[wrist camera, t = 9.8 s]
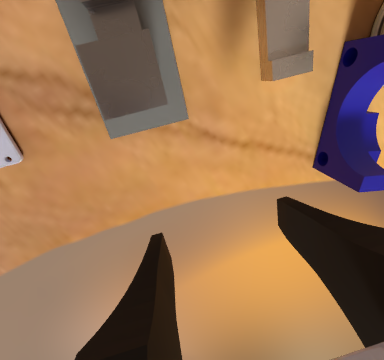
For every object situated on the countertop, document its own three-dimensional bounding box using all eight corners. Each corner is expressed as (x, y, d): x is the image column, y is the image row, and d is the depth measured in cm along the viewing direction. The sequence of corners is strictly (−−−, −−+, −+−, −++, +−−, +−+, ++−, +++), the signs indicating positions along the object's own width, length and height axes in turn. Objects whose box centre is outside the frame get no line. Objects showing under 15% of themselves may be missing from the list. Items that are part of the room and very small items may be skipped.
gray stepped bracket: (121, 105, 18) (105, 120, 12) (80, -9, 15) (27, -75, 8) (162, 95, 18) (168, 104, 12) (131, -20, 15) (117, -93, 8)
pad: (111, 137, 19) (110, 139, 19) (41, -41, 14) (37, -46, 14) (187, 117, 20) (188, 118, 19) (147, -63, 14) (147, -68, 14)
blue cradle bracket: (347, 165, 25) (401, 188, 20) (312, 167, 24) (358, 192, 19) (387, 43, 20) (474, 30, 15) (345, 41, 19) (419, 27, 14)
